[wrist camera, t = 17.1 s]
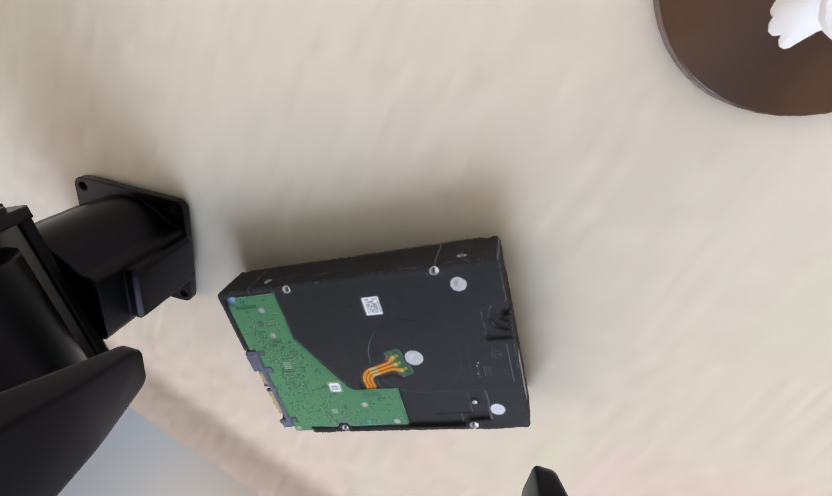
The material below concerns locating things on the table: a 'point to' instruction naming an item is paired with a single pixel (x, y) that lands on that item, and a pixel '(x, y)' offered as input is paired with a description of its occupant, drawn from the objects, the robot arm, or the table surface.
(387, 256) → the disk drive
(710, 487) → the table surface
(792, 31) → the hat wearing toy figure
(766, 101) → the coaster
